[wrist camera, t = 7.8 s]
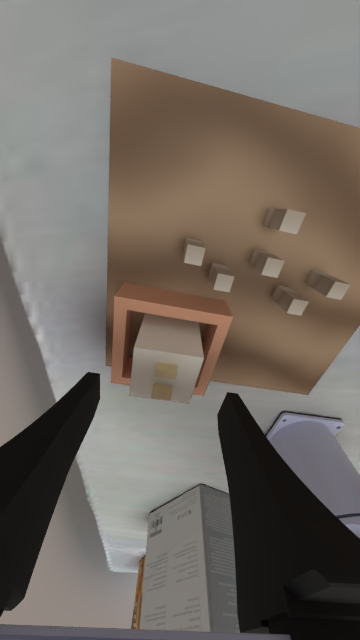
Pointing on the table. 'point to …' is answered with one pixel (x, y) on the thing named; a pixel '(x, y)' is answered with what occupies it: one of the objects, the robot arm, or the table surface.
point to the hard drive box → (191, 565)
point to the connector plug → (166, 359)
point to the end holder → (169, 306)
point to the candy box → (138, 596)
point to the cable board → (236, 221)
